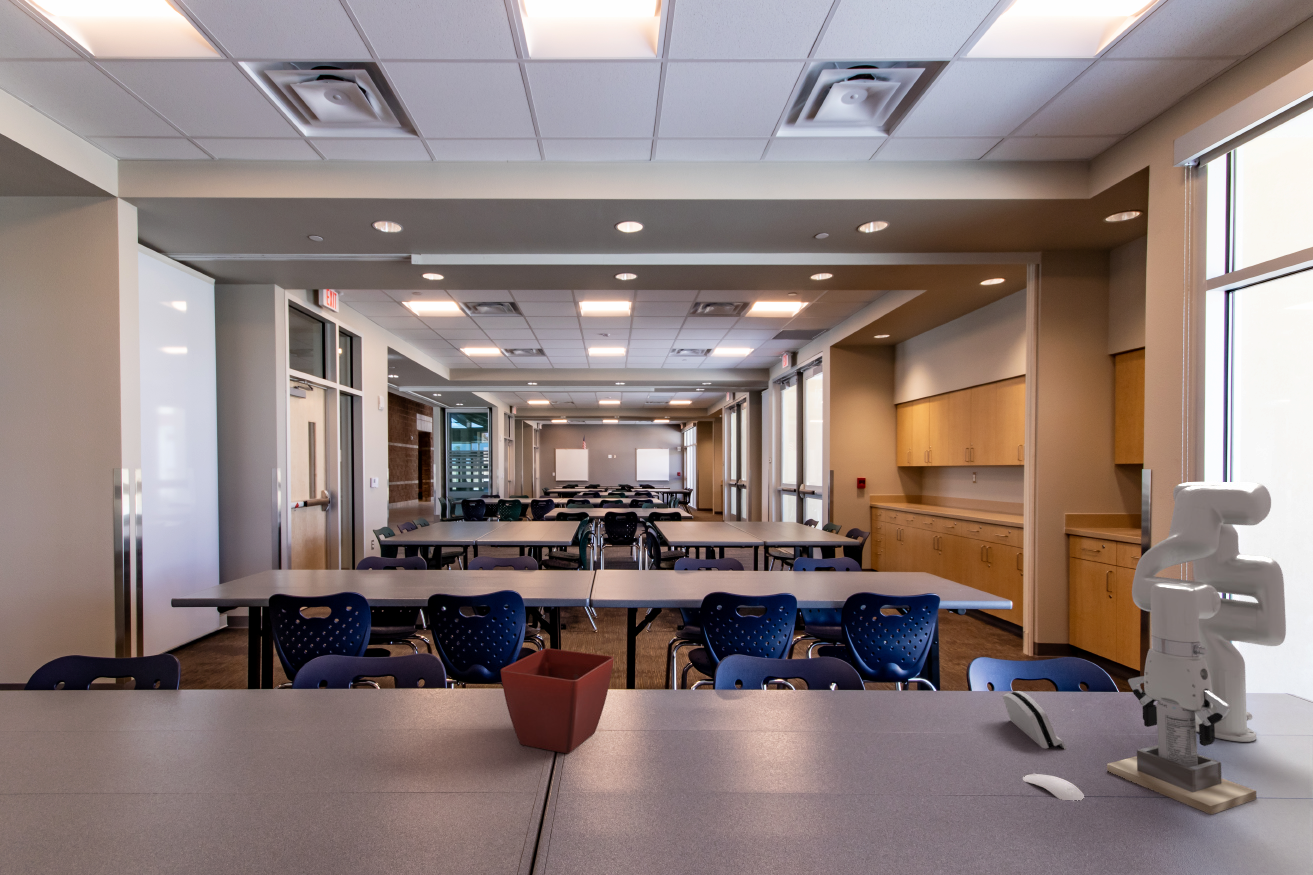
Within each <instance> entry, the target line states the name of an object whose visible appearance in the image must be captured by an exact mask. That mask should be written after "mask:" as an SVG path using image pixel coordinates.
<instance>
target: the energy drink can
mask: <svg viewBox="0 0 1313 875" xmlns="http://www.w3.org/2000/svg"><path fill="white" fill-rule="evenodd" d="M1155 705H1156V708H1157V725H1156V727H1157V745H1158V751H1159V757H1162V758H1165V759H1167V760H1170V761H1173V762H1175V763H1178V764H1181V765H1184V766H1186V767H1193V766H1196V765H1198V758H1197V754H1198V743H1197V742H1198V740H1197V739H1198V738H1197V731H1196V717H1195V712H1194V711H1189V710H1186V709H1184V708H1182V707H1180V706H1179V703H1176V702H1172V701H1169V700H1165V699H1162V698H1161V701H1156V703H1155Z"/></svg>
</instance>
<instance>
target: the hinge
mask: <svg viewBox="0 0 1313 875" xmlns="http://www.w3.org/2000/svg"><path fill="white" fill-rule="evenodd" d="M1002 699H1003V702H1004V705H1005V708H1006V712H1007V714H1008V717H1009V720H1010V721H1011V722H1012V723H1013V724H1014V725H1016V726H1017V727H1018V729H1020V730H1021V731H1022V732H1023V733H1024V734H1025V735H1027V736H1028V737H1029V738H1030V739H1031V740H1033V741H1034V742H1035V743H1036V744H1037V745H1038V746H1039V747H1041V748H1042V749H1049V748H1050V747H1049V746H1050V745H1051V746H1052V745H1053V746H1054V747H1057V746H1059V745H1060V746H1059V747H1060V748H1062V749H1063V748H1064V749H1063V750H1067V748H1066V745H1065V742H1064V741H1063V740H1062V739H1061V738H1060V737H1059V736H1057V735H1056V733H1055V731H1054V728H1053V726H1052V723H1051V721H1050V718H1049V717H1048V714H1047V713H1046V711H1045V710H1044V708H1042V707H1041V706H1040V704H1038V703H1037V702H1036V700H1035V699H1034V698H1032V697H1031V696H1030V695H1029V694H1027V693H1026V692H1023V691H1020V690H1016V691H1014V690H1013V691H1012V692H1011V693H1010V692H1009V693H1005V694H1004V695H1002Z"/></svg>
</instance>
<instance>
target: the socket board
mask: <svg viewBox="0 0 1313 875" xmlns="http://www.w3.org/2000/svg"><path fill="white" fill-rule="evenodd" d="M1197 758H1198V765H1196V766H1193V767H1186V766H1184V765H1181V764H1178V763H1175V762H1173V761H1170V760H1167V759H1165V758H1162V757H1159V751H1158V744H1155V745H1151V746H1148V747H1143V748H1139V749H1136V756H1135V755H1134V756H1132V757H1128V758H1124V759H1121V760H1120V759H1119V760H1117V761H1113V762H1108V763H1107V764H1106V770H1107V771H1109V772H1108V773H1110V772H1111V773H1110V774H1112V773H1113V775H1115V774H1116V775H1115V776H1117V775H1118V777H1119V776H1121V777H1120V778H1122V777H1123V778H1122V779H1124V778H1125V780H1126V781H1129V782H1131V781H1132V782H1131V783H1134V784H1136V783H1137V785H1139V786H1142V787H1144V788H1145V789H1148V788H1149V790H1151V791H1153V790H1154V791H1153V792H1156V793H1158V792H1159V793H1158V794H1161V795H1163V796H1166V797H1167V798H1171V799H1172V800H1174V801H1177V802H1180V803H1182V804H1184V805H1187V806H1189V807H1191V808H1194V809H1196V810H1199V811H1202V812H1204V813H1206V814H1209V815H1211V816H1212V815H1214V814H1217V813H1221V812H1223V811H1226V810H1228V809H1231V808H1234V807H1237V806H1240V805H1243V804H1246V803H1249V802H1251V801H1254V800H1256V799H1257V790H1255V789H1252V788H1249V787H1247V786H1244V785H1242V784H1238V783H1236V782H1234V781H1230V780H1227V779H1225V778H1222V762H1221V761H1219V760H1215V759H1213V758H1210V757H1208V756H1204V755H1201V754H1199V753H1197ZM1107 771H1106V772H1107Z"/></svg>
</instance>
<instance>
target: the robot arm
mask: <svg viewBox="0 0 1313 875" xmlns="http://www.w3.org/2000/svg"><path fill="white" fill-rule="evenodd" d="M1172 496H1173V501H1174V506H1173V511H1172V516H1171V522H1170V528H1169V531H1168V532H1169V533H1168V536H1167V538H1165V539H1163V540H1161V541H1160V542H1158V543H1155V545H1153V546H1152V547H1150V548H1149V549H1148V550H1147V551H1145V553H1143V555H1142V556H1141V557H1140V558H1139V560H1138V562H1137V565H1136V567H1135V572H1134V577H1133V580H1132V586H1131V587H1132V588H1131V597H1132V600H1133V603H1134V604H1135V606H1137V607H1138V608H1139V609H1141V610H1143V611H1146V612H1150V625H1151V627H1150V628H1151V629H1150V630H1151V648H1149V649H1148V651H1147V655H1146V659H1145V665H1144V675H1142V676H1137V677H1132V678H1129V679H1127V682H1128V684H1129V686H1130V688H1131V689H1132V694H1133V695H1134V696H1135V697H1136V698H1137V700H1138V701H1139V704H1140V705H1141V706H1142V720H1143V725H1144V726H1145V727H1146V728H1149V727H1154V726H1157V708H1156V704H1155V702H1158V701H1161V698H1162V699H1165V700H1169V701H1172V702H1176V703H1179V706H1180V707H1182V708H1184V709H1186V710H1189V711H1194V712H1195V717H1196V733H1198V734H1199V737H1198V738H1199V739H1198V740H1199V741H1198V742H1199V744H1200V745H1201V746H1203V747H1206V746H1210V745H1212V744H1213V743H1214V742H1215V741H1216V740H1215V739H1220V740H1225V741H1233V742H1239V743H1240V742H1241V743H1243V742H1244V743H1247V742H1249V743H1250V742H1253V741H1255V740H1257V733H1256V732H1255V731H1254V730H1253V729H1251V728H1249V727H1248V721H1251V720H1252V719H1253V715H1252V713H1250V712H1249V711H1247V688H1246V685H1247V684H1246V662H1245V660H1244V657H1243V655H1242V653H1241V652H1240V651H1239V650H1238V648H1237V647H1236V646H1235V645H1234V644H1233V643H1232V642H1240V643H1247V644H1251V645H1260V646H1266V647H1277V646H1280V645H1282V644H1283V643H1284V641H1285V639H1286V633H1287V624H1286V623H1287V618H1286V600H1285V599H1286V598H1285V582H1284V575H1283V573H1284V572H1283V571H1282V567H1281V566H1280V564H1279V563H1278V562H1277V561H1276V560H1274V559H1273V558H1270V557H1267V556H1262V555H1247V554H1241V553H1240V550H1239V549H1240V548H1239V534H1238V531H1237V529H1236V528H1235V527H1234V526H1233V525H1235V526H1256V525H1258V524H1260V523H1261V522H1262V521H1263V520H1265V519H1266V518H1267V517H1268V515H1269V513H1270V511H1271V508H1272V497H1271V493H1270V492H1269V489H1268V488H1267V487H1266V486H1265V485H1264V484H1261V483H1256V482H1226V481H1224V482H1223V481H1190V482H1181V483H1179V484H1177V485H1176V486H1175V487H1174V488H1173V492H1172ZM1190 562H1191V563H1192V570H1193V579H1194V580H1187V579H1180V578H1173V577H1171V578H1170V577H1164V576H1163V577H1162V576H1157V574H1159V573H1160V572H1161V571H1163V570H1165V569H1167V568H1171V567H1173V566H1177V565H1181V564H1185V563H1190ZM1219 593H1220V594H1227V595H1228V594H1229V595H1238V596H1246V597H1252V598H1254V599H1255V600H1256V601H1257V602H1255V601H1253V602H1252V601H1246V600H1245V601H1244V600H1237V599H1231V598H1225V597H1224V598H1223V597H1221V595H1220V594H1219ZM1141 684H1143V687H1144V688H1143V689H1142V688H1141V687H1142V686H1141Z"/></svg>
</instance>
